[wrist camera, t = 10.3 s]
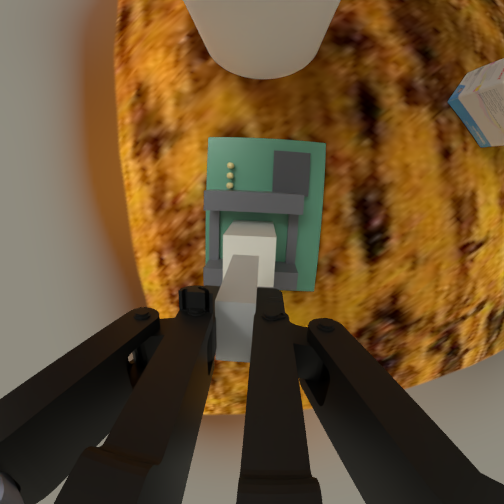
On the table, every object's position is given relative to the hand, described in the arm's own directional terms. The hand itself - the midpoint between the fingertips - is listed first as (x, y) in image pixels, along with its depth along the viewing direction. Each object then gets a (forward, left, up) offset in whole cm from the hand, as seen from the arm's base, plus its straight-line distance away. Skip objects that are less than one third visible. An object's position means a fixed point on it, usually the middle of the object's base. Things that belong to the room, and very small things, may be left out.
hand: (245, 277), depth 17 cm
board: (-2, +1, -14) cm, 14 cm away
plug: (0, 0, -13) cm, 13 cm away
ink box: (-20, +30, -15) cm, 39 cm away
